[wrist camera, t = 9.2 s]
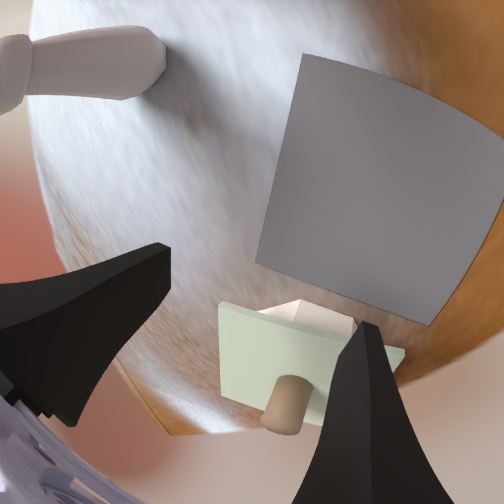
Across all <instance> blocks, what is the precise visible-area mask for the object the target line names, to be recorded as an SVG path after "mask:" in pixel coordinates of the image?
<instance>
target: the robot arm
mask: <svg viewBox="0 0 504 504" xmlns="http://www.w3.org/2000/svg"><path fill="white" fill-rule="evenodd" d="M170 289H171V247H168V246H166V245H163V244H161V243H159V242H157V243H153V244H150V245H147V246H144V247H141V248H139V249H136V250H133V251H131V252H128V253H125V254H122V255H120V256H117V257H114V258H112V259H109V260H106V261H104V262H101V263H98V264H95V265H92V266H89V267H86V268H83V269H80V270H77V271H73V272H70V273H66V274H62V275H58V276H54V277H49V278H44V279H38V280H34V281H27V282H19V283H7V284H0V504H106V503H105V502H103V501H102V500H100V499H98V498H97V497H95V496H94V495H92V494H91V493H89V492H88V491H87V490H85V489H84V488H82V487H81V486H80V485H78V484H77V483H75V482H74V481H73V480H74V479H75V478H74V476H75V477H76V478H77V479H79V480H80V481H81V482H82V483H84V484H85V485H86V486H87V487H89V488H90V489H91V490H93V491H94V492H95V493H97V494H98V495H100V496H101V497H102V498H104V499H105V500H107V501H108V502H110V503H111V504H148V503H147V502H145V501H143V500H141V499H140V498H138V497H136V496H134V495H132V494H131V493H129V492H128V491H126V490H125V489H123V488H122V487H120V486H119V485H117V484H115V483H114V482H112V481H111V480H110V479H108V478H107V477H105V476H104V475H103V474H101V473H100V472H98V471H97V470H96V469H95V468H93V467H92V466H91V465H89V464H88V463H87V462H86V461H84V460H83V459H82V458H81V457H79V456H78V455H77V454H76V453H75V452H73V451H72V450H71V449H70V448H69V447H68V446H66V445H65V444H64V443H63V442H62V441H61V440H60V439H59V438H58V437H57V436H56V435H55V434H53V432H52V431H51V430H49V429H48V428H47V427H46V426H45V424H43V422H42V421H41V420H40V419H39V418H38V416H39V415H40V414H41V413H43V414H44V415H45V416H46V417H47V418H50V417H51V416H52V415H53V414H54V415H55V416H56V417H57V418H58V419H59V420H61V421H62V422H63V423H64V424H65V425H66V426H68V427H74V426H76V425H77V422H78V420H79V418H80V416H81V413H82V411H83V409H84V407H85V405H86V403H87V401H88V399H89V397H90V395H91V394H92V391H93V390H94V388H95V386H96V385H97V383H98V381H99V380H100V378H101V377H102V375H103V373H104V371H105V370H106V369H107V367H108V366H109V364H110V363H111V361H112V360H113V359H114V357H115V356H116V354H117V353H118V352H119V350H120V349H121V348H122V347H123V346H124V344H125V343H126V342H127V341H128V340H129V339H130V338H131V337H132V336H133V334H134V333H135V332H136V331H137V330H138V329H139V328H140V327H141V326H142V325H143V323H144V322H145V321H146V320H147V319H148V318H149V317H150V316H151V315H152V314H153V312H154V311H155V310H156V309H157V308H158V306H159V305H160V304H161V302H162V301H163V299H164V298H165V296H166V295H167V294H168V292H169V291H170ZM39 444H40V445H41V446H42V447H43V448H44V449H45V450H46V451H45V450H44V449H42V448H41V447H39ZM72 474H73V475H74V476H73V475H72ZM292 504H454V502H453V501H452V500H451V498H450V497H449V495H448V494H447V492H446V491H445V490H444V488H443V487H442V485H441V483H440V482H439V480H438V478H437V476H436V475H435V473H434V471H433V469H432V468H431V466H430V464H429V462H428V460H427V458H426V456H425V454H424V452H423V450H422V448H421V446H420V444H419V442H418V439H417V437H416V435H415V432H414V430H413V428H412V425H411V423H410V421H409V418H408V416H407V413H406V410H405V408H404V405H403V402H402V399H401V396H400V394H399V391H398V388H397V385H396V382H395V379H394V375H393V372H392V369H391V366H390V363H389V360H388V356H387V353H386V350H385V347H384V343H383V340H382V337H381V334H380V331H379V328H378V326H376V325H373V324H370V323H367V322H364V321H362V322H361V323H360V325H359V327H358V328H357V330H356V331H355V333H354V334H353V336H352V337H351V339H350V340H349V341H348V343H347V344H346V346H345V347H344V349H343V350H342V351H341V353H340V354H339V356H338V359H337V363H336V366H335V369H334V373H333V377H332V380H331V385H330V391H329V396H328V401H327V406H326V411H325V416H324V421H323V426H322V430H321V434H320V438H319V442H318V445H317V448H316V450H315V453H314V456H313V458H312V461H311V463H310V466H309V469H308V471H307V473H306V475H305V477H304V480H303V482H302V484H301V486H300V488H299V490H298V492H297V494H296V496H295V498H294V500H293V502H292Z"/></svg>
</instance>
